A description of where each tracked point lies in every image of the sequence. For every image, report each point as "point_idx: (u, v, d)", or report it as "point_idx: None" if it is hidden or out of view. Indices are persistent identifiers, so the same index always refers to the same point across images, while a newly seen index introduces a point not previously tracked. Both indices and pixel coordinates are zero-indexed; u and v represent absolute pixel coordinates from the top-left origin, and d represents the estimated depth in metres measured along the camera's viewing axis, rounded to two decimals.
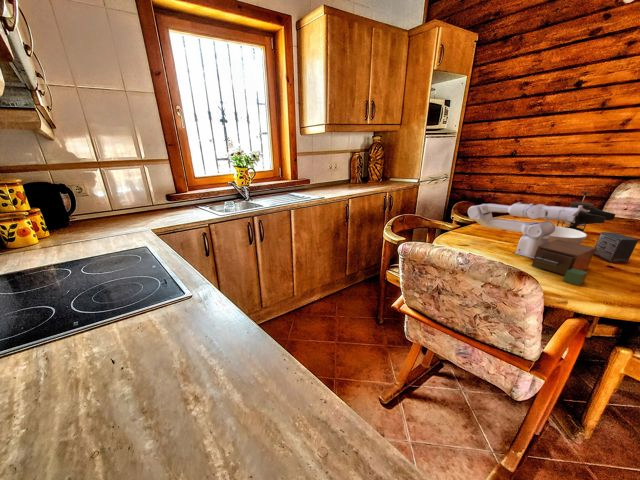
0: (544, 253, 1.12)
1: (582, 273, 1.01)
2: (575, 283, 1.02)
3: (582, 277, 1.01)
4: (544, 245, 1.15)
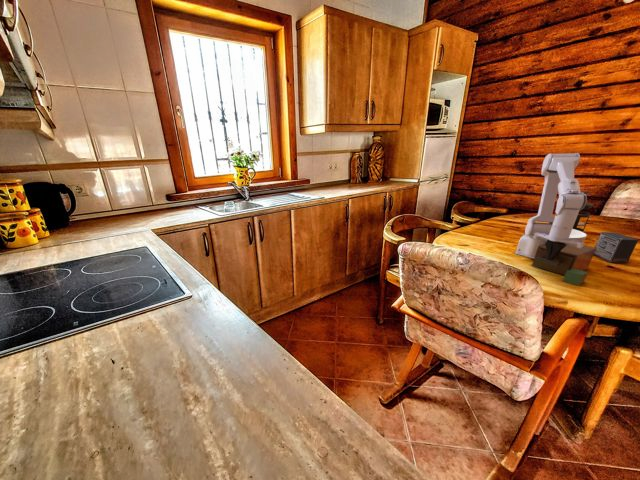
0: (545, 253, 1.12)
1: (582, 273, 1.01)
2: (575, 283, 1.02)
3: (582, 277, 1.01)
4: (544, 245, 1.15)
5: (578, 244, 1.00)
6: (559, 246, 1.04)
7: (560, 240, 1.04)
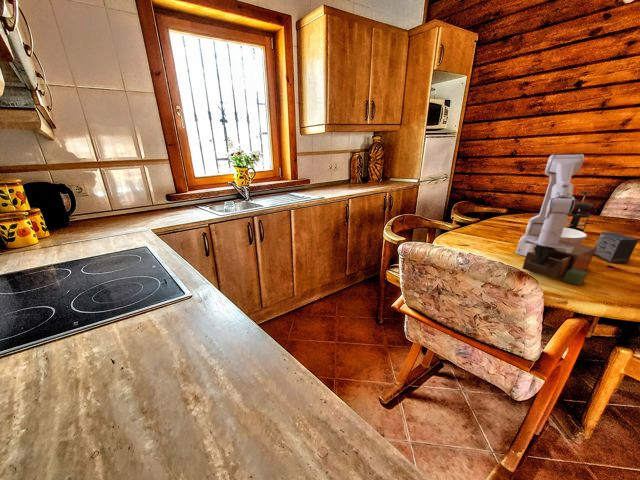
0: (534, 256, 1.09)
1: (582, 273, 1.01)
2: (575, 283, 1.02)
3: (582, 277, 1.01)
4: None
5: (567, 249, 0.98)
6: (548, 251, 1.02)
7: (549, 245, 1.01)
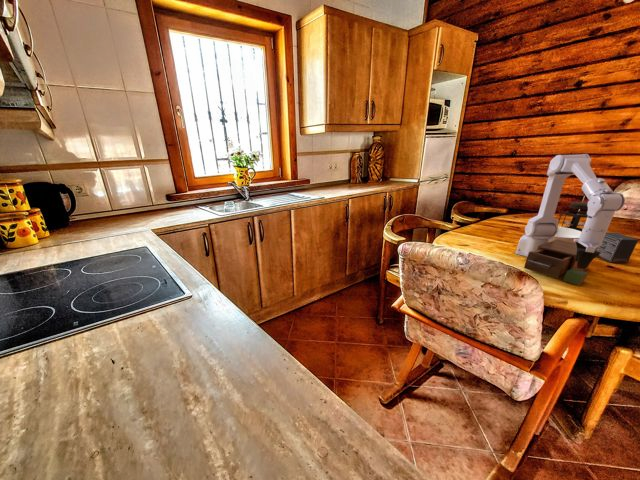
0: (536, 256, 1.10)
1: (582, 273, 1.01)
2: (575, 283, 1.02)
3: (582, 277, 1.01)
4: (544, 245, 1.15)
5: (586, 247, 0.94)
6: (578, 250, 0.97)
7: (580, 241, 0.98)
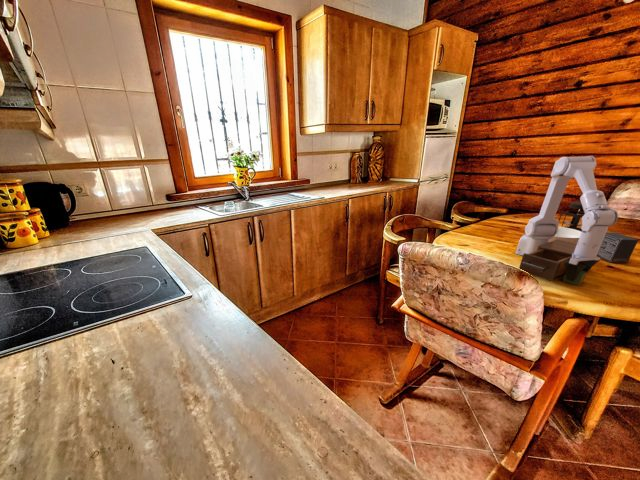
0: (531, 258, 1.08)
1: (582, 273, 1.01)
2: (575, 283, 1.02)
3: (582, 277, 1.01)
4: (544, 245, 1.15)
5: None
6: None
7: None
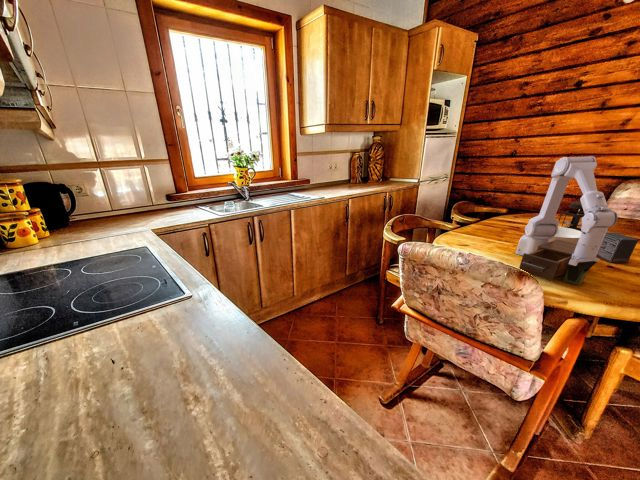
0: (531, 258, 1.08)
1: (582, 273, 1.01)
2: (575, 282, 1.02)
3: (582, 277, 1.01)
4: (544, 245, 1.15)
5: None
6: None
7: None
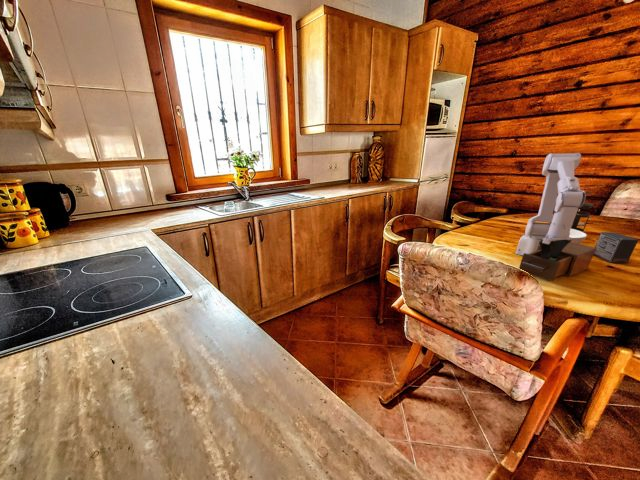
0: (531, 258, 1.08)
1: (552, 260, 1.08)
2: None
3: None
4: None
5: (568, 234, 1.07)
6: (570, 240, 1.06)
7: (567, 236, 1.04)
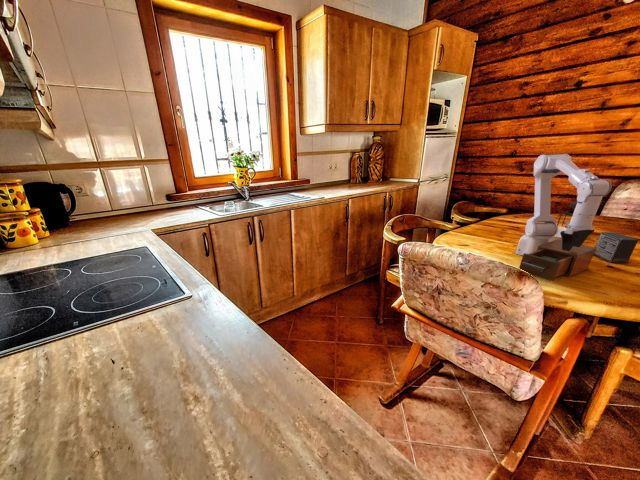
0: (531, 258, 1.08)
1: (552, 260, 1.08)
2: None
3: None
4: (544, 245, 1.15)
5: (591, 225, 1.05)
6: (593, 231, 1.05)
7: (590, 226, 1.02)
